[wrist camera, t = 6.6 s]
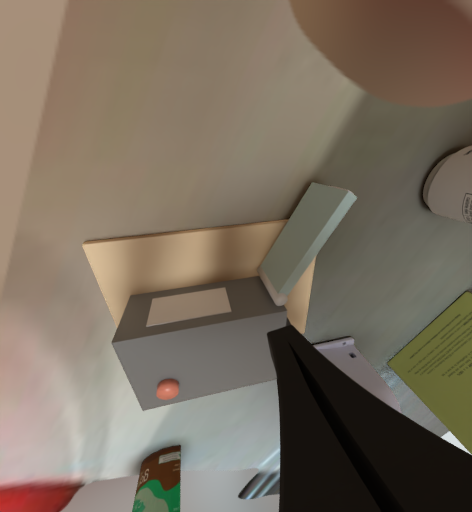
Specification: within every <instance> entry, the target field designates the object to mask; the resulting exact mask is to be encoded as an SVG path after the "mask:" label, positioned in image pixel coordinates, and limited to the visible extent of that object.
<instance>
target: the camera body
mask: <svg viewBox="0 0 472 512" xmlns="http://www.w3.org/2000/svg"><path fill="white" fill-rule="evenodd" d="M289 325H291V323H290V321H289V319H288V318H287V309H286V308H285V306H284V305H282V306H277V305H276V304H275V303H274V301H273V299H272V297H271V296H270V294H269V292H268V290H267V288H266V287H265V285H264V283H263V281H262V280H261V278H260V276H255V277H248V278H242V279H235V280H229V281H222V282H215V283H209V284H202V285H196V286H189V287H183V288H176V289H169V290H163V291H156V292H150V293H143V294H137V295H130V298H129V300H128V303H127V305H126V308H125V310H124V313H123V315H122V318H121V320H120V323H119V325H118V328H117V330H116V333H115V335H114V338H113V341H112V345H113V347H114V349H115V352H116V354H117V356H118V358H119V360H120V362H121V365H122V367H123V369H124V371H125V373H126V375H127V378H128V380H129V382H130V384H131V386H132V388H133V391H134V393H135V395H136V397H137V399H138V401H139V404H140V406H141V408H142V410H143V411H144V410H148V409H152V408H156V407H161V406H165V405H169V404H173V403H178V402H182V401H186V400H190V399H195V398H199V397H203V396H207V395H211V394H216V393H220V392H224V391H228V390H233V389H237V388H241V387H245V386H250V385H254V384H258V383H262V382H267V381H271V380H275V379H277V376H276V371H275V367H274V364H273V361H272V358H271V354H270V349H269V344H268V339H267V333H268V332H270V331H273V330H276V329H279V328H282V327H285V326H289Z"/></svg>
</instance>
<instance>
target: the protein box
mask: <svg viewBox="0 0 472 512" xmlns="http://www.w3.org/2000/svg"><path fill="white" fill-rule="evenodd" d="M388 365H389V366H390V367H391V368H392V369H393V371H394V372H395V373H396V374H397V375H398V376H399V377H400V378H401V379H402V380H403V381H404V382H405V384H406V385H407V386H408V387H409V388H410V389H411V390H412V391H413V392H414V393H415V394H416V395H417V396H418V397H419V398H420V400H421V401H422V402H423V403H424V404H425V405H426V406H427V407H428V408H429V409H430V410H431V411H432V412H433V413H434V414H435V416H436V417H437V418H438V419H439V420H440V421H441V422H442V423H443V424H444V425H445V426H446V427H447V428H448V430H449V431H451V433H452V434H453V435H454V436H455V437H456V438H457V439H458V440H459V441H460V443H461V444H462V445H463V446H464V447H465V448H466V449H467V450H468V451H469V452H470V453H471V454H472V293H471V292H469V291H466V292H465V293H464V294H463V295H462V296H461V297H460V298H458V299H457V300H456V301H455V302H454V303H453V304H452V305H451V306H450V307H448V308H447V309H446V310H445V311H444V312H443V313H442V314H441V315H440V316H438V317H437V318H436V319H435V320H434V321H433V322H432V323H431V324H430V325H428V326H427V327H426V328H425V329H424V330H423V331H422V332H421V333H420V334H419V335H417V336H416V337H415V338H414V339H413V340H412V341H411V342H410V343H409V344H408V345H406V346H405V347H404V348H403V349H402V350H401V351H400V352H399V353H398V354H397V355H396V356H394V357H393V358H392V359H391V360H390V361H389V362H388Z"/></svg>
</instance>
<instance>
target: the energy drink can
mask: <svg viewBox="0 0 472 512" xmlns="http://www.w3.org/2000/svg"><path fill="white" fill-rule="evenodd" d="M423 198H424V201H425V203H426V204H427V205H428V206H429V208H430V210H431V211H432V212H433V213H434V214H437V215H440V216H444V217H447V218H451V219H455V220H459V221H463V222H466V223H470V224H472V146H469V147H465V148H463V149H461V150H459V151H458V152H457V153H454V154H451V155H449V156H447V157H445V158H444V159H443V160H441V161H440V162H439V163H438V164H437V165H436V166H435V167H434V169H433V170H432V171H431V173H430V174H429V176H428V178H427V180H426V182H425V185H424V189H423Z"/></svg>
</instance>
